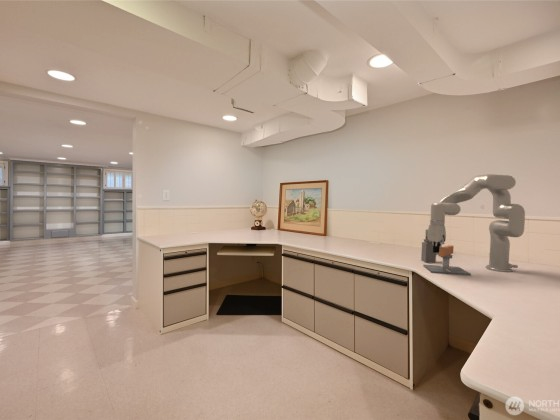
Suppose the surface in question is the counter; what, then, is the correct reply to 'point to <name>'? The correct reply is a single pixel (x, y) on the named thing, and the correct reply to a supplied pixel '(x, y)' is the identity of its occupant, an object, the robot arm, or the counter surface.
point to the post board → (453, 270)
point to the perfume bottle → (428, 252)
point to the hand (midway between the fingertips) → (436, 252)
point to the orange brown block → (446, 251)
